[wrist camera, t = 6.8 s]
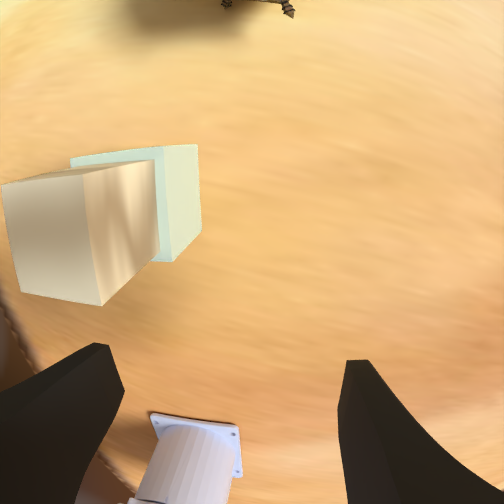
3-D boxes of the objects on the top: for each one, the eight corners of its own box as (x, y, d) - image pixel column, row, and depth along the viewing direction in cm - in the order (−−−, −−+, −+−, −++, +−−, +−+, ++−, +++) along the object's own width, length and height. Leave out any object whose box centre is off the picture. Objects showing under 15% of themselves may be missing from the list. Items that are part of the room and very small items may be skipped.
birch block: (160, 251, 13) (102, 306, 9) (88, 247, 14) (21, 292, 9) (154, 159, 12) (82, 174, 7) (79, 165, 12) (0, 185, 8)
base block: (202, 230, 18) (172, 261, 14) (127, 230, 19) (83, 258, 14) (197, 143, 16) (163, 146, 12) (120, 151, 17) (70, 158, 12)
